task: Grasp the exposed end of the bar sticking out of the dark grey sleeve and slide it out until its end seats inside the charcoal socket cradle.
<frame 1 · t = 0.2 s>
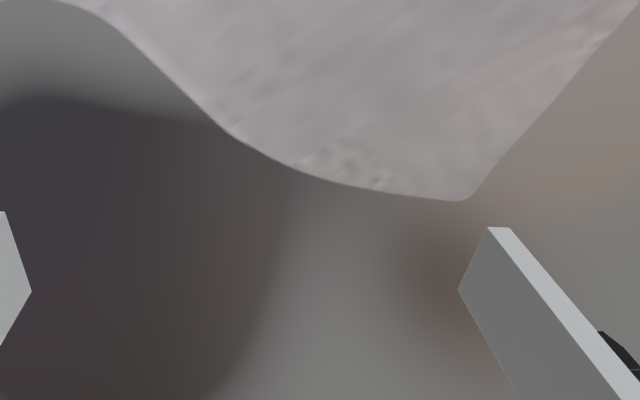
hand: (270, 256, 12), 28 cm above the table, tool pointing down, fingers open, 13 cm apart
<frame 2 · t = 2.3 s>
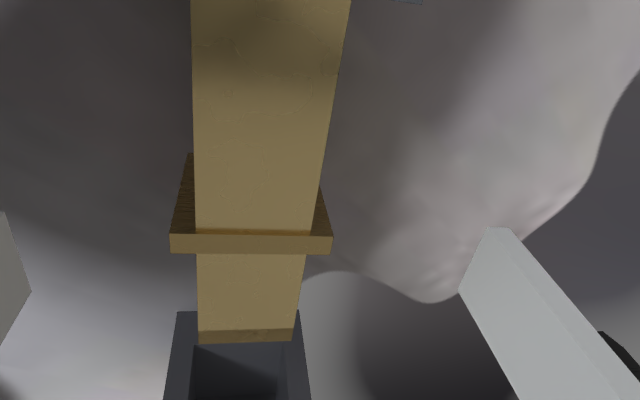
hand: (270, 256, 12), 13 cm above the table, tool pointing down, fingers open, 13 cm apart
socket: (237, 344, 35), on the table
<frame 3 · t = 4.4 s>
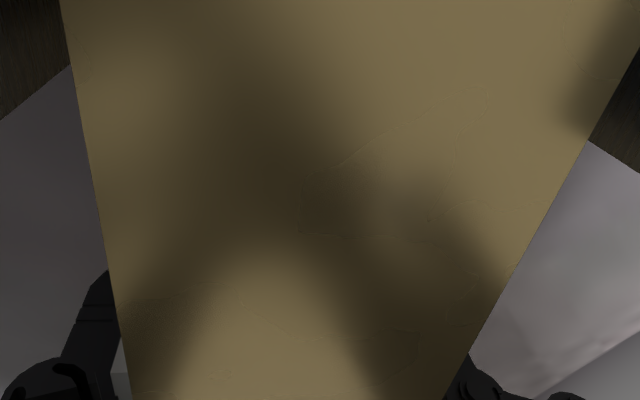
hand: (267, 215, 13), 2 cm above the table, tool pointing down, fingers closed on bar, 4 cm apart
bar: (315, 51, 6), point 6 cm above the table, slide at 0.0 cm, touching gripper
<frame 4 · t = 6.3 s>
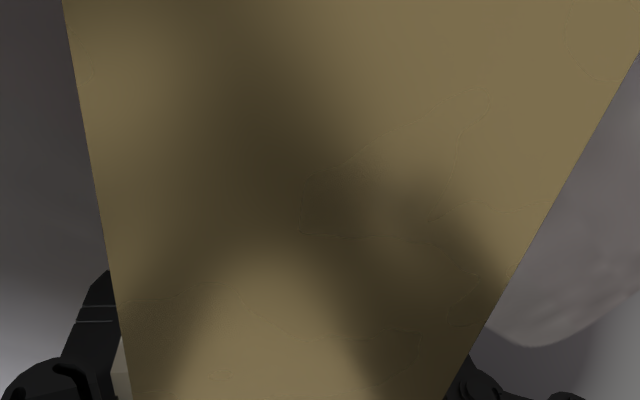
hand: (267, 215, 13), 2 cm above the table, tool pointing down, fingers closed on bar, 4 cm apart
bar: (316, 51, 6), point 6 cm above the table, slide at 7.7 cm, touching gripper
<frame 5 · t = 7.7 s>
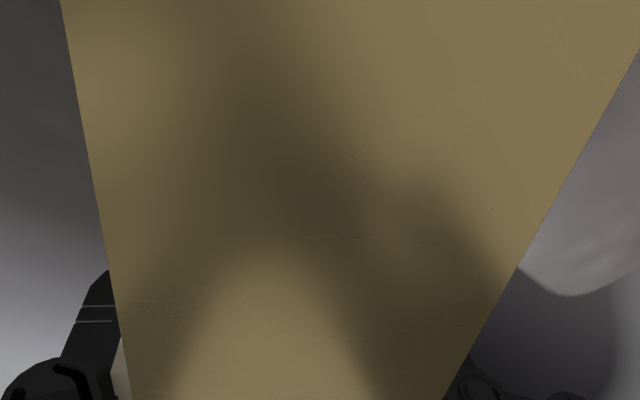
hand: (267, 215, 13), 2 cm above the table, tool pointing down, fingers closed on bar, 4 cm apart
bar: (315, 51, 6), point 6 cm above the table, slide at 12.0 cm, touching gripper
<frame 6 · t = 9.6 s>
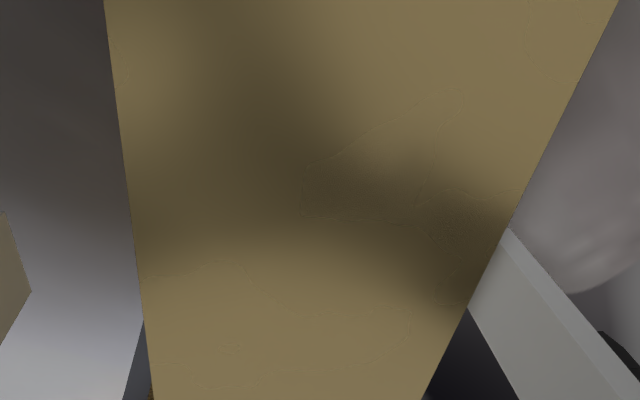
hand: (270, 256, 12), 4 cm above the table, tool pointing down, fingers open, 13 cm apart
bar: (315, 57, 7), point 6 cm above the table, slide at 12.0 cm
socket: (252, 359, 21), on the table
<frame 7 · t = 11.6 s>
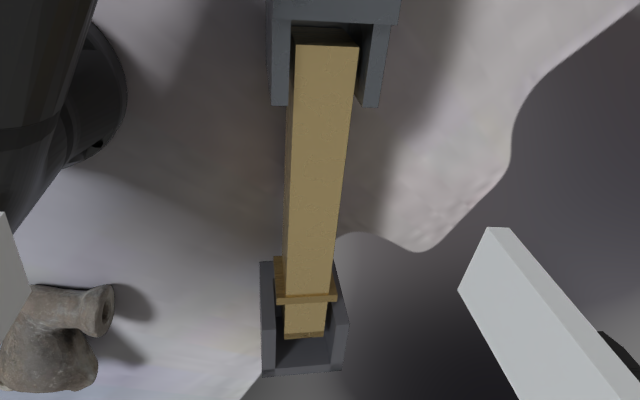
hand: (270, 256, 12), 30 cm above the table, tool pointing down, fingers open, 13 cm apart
pipe: (64, 318, 52), on the table
bar: (309, 208, 40), point 6 cm above the table, slide at 12.0 cm
socket: (295, 283, 54), on the table
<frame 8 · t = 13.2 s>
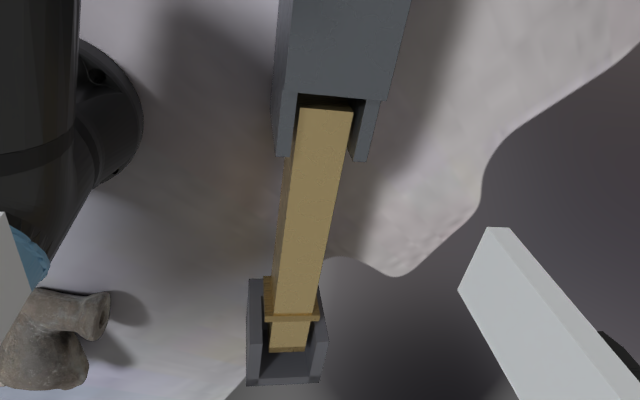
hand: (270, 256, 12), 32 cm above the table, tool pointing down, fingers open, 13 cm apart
pipe: (59, 319, 55), on the table
bar: (299, 237, 44), point 6 cm above the table, slide at 12.0 cm
sleeve: (321, 10, 38), on the table
socket: (280, 300, 59), on the table
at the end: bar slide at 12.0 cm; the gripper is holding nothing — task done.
